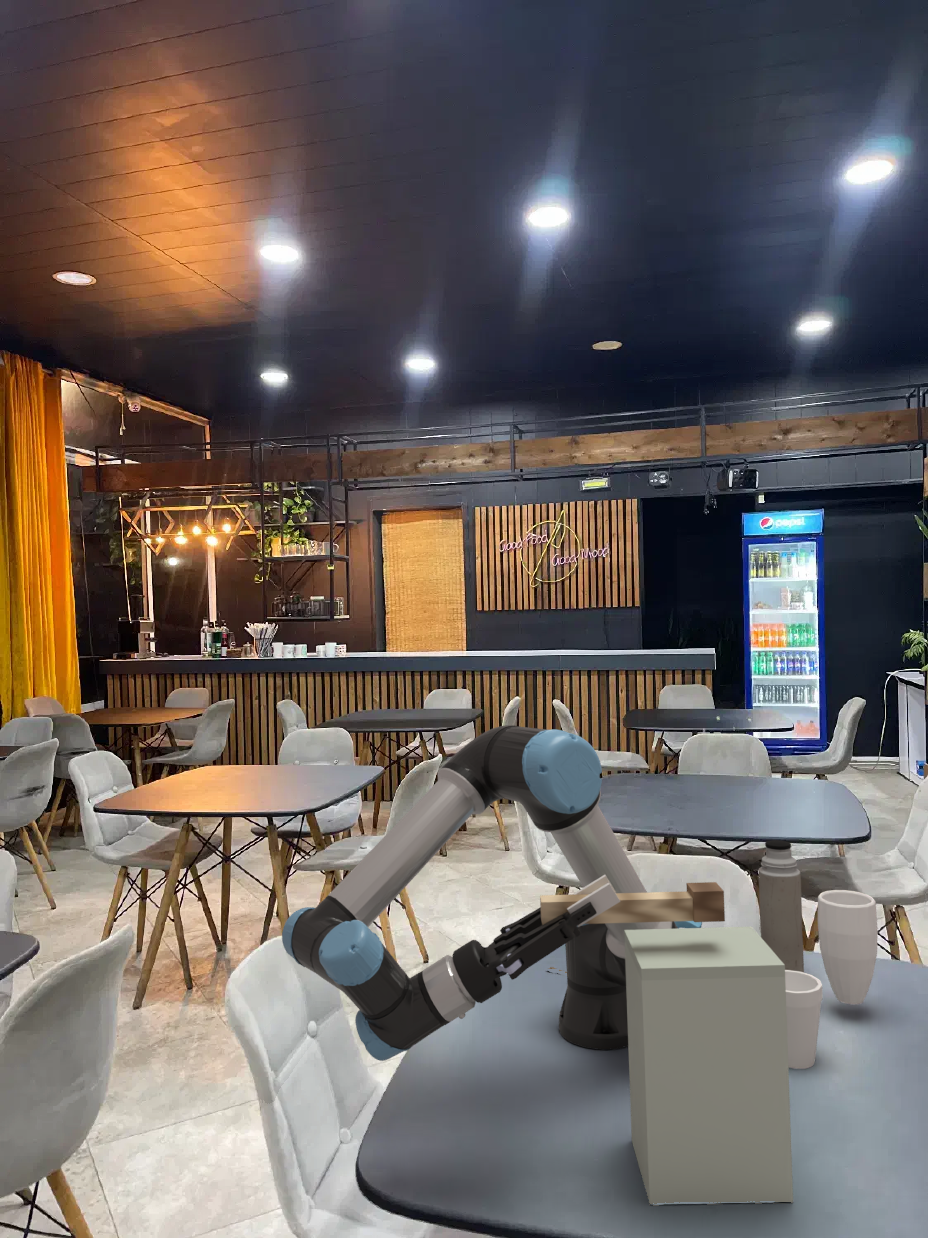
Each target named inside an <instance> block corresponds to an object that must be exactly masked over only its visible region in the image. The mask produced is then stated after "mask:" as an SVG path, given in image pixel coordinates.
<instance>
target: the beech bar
mask: <svg viewBox="0 0 928 1238" xmlns="http://www.w3.org/2000/svg"><path fill="white" fill-rule="evenodd" d="M587 895H589V894H578V895H572V894H561V895H560V894H549V895H548V894H547V895H546V894H545V895H542V894H540V896H539V898H540V899H539V901H540V902H539V903H540V907H541V921H542V925H543V924H545V923H547V922H549V921H551V920H553V919H554V918H556V917H558V916H560V915H562V914H563V913H566V912H568V913H569V911H568V910H567V908H568V907H570V906H571V905H573V904H575V903H576V902H578V901H579V900H581V899H583V898H584V897H586V896H587ZM616 895H617V897H618V898H619V900H620V902H619V903H617V904H616V905H614V906H612V907H611V908H609V909H607V910H606V911H604V912H603V913H601V914H599V915H598V916H596V917H594V918H593V919H591V920H590V921H588V922H586V923H585V924H598V923H635V922H672V921H694V922H702V923H710V922H711V923H712V922H713V923H714V922H716V923H717V922H718V923H719V922H726V920H725V919H726V917H725V916H726V914H725V913H726V912H725V891H724V890H723V888H722V887H721V886H720V885H719V883H717V881H713V882H712V881H711V882H710V881H708V882H705V881H704V882H686V890H685V891H657V892H656V891H654V892H653V891H652V892H648V891H647V893H616ZM540 907H539V908H540ZM569 914H570V913H569Z"/></svg>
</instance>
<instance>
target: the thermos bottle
mask: <svg viewBox="0 0 928 1238" xmlns="http://www.w3.org/2000/svg"><path fill="white" fill-rule="evenodd" d="M764 845H765V847H766V848H765V855H764V856H762V858H761V862H760V865H761V867H759V868H758V889H759V890H758V894H759V919H760V920H759V923H760V925H759V926H760V937H761V938H762V939H763V940H764V941H765V943H766V944H767V945H768V946H769V947H770V948H771V950H772V951H773V952H774V953H775V954H776V955H777V957H778V958H779V959H780V960H781V961H782V962H783V964H784V965H785V970H791V971H800V972H803V973H805V966H804V965H805V963H804V960H805V959H804V940H803V939H804V938H803V909H802V907H803V906H802V879H801V878H802V877H801V871H800V870H799V869H798V863H797V859H796V858H794V857H793V855H792V849H791V848H792V843H791V842H789V841H786V840H775V839H774V840H767V841H765V844H764Z"/></svg>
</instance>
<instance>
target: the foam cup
mask: <svg viewBox="0 0 928 1238" xmlns="http://www.w3.org/2000/svg"><path fill="white" fill-rule="evenodd" d="M785 986H786V1014H787V1042H788V1069H789V1068H790V1069H795V1070H805V1069H809V1068H812V1067H813V1066H814V1064H816V1062H815V1060H816V1054H817V1048H818V1047H817V1044H818V1035H819V1026H820V1017H821V1007H822V1006H821V1005H822V1001H823V999H824V998H823V995H824V994H823V984H822V981H821V979H819V978H817V977H816V976H814V975H812V974H809V973H806V972H804V973H803V972H800V971H791V970H785Z"/></svg>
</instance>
